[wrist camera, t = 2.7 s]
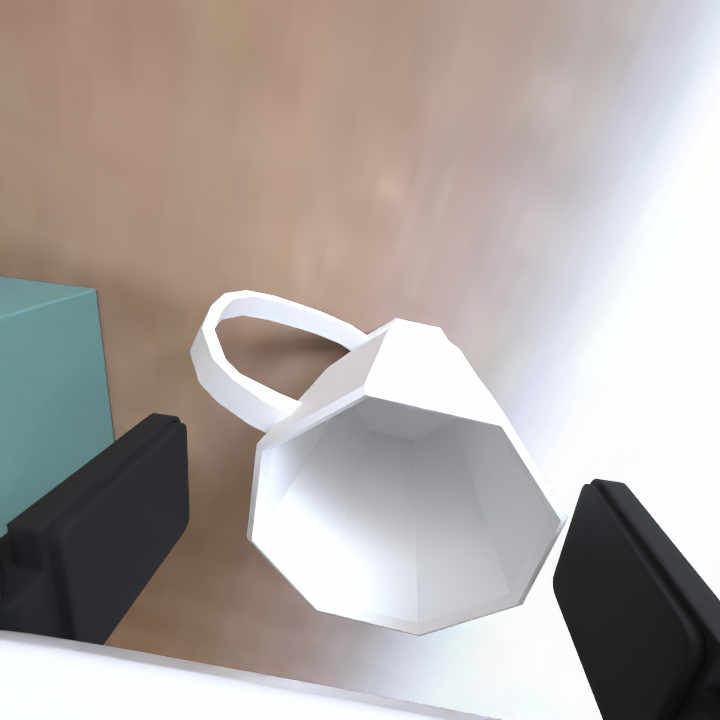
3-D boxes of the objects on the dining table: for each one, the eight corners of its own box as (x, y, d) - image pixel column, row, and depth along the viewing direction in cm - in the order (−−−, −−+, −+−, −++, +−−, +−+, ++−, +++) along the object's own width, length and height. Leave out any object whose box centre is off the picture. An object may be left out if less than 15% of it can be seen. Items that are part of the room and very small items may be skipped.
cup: (423, 475, 18) (428, 676, 11) (220, 347, 17) (73, 480, 10) (540, 353, 16) (649, 515, 8) (308, 190, 14) (194, 210, 7)
